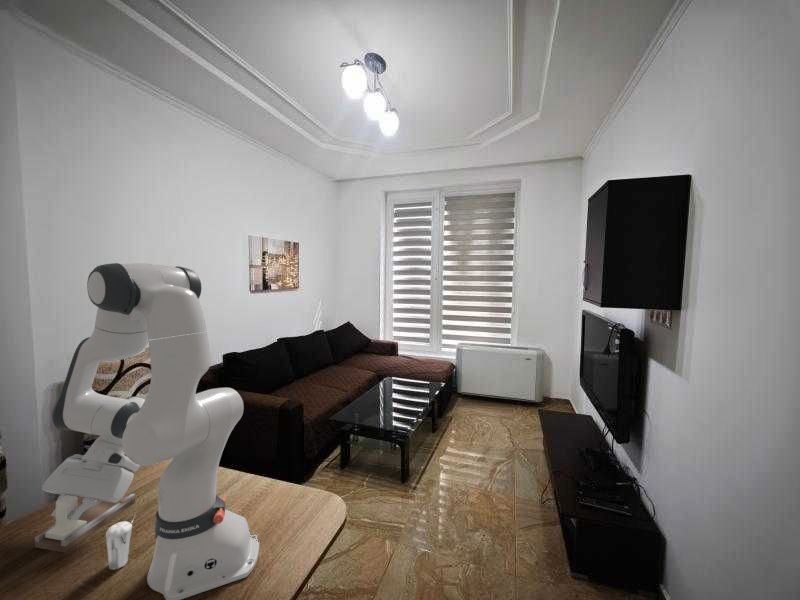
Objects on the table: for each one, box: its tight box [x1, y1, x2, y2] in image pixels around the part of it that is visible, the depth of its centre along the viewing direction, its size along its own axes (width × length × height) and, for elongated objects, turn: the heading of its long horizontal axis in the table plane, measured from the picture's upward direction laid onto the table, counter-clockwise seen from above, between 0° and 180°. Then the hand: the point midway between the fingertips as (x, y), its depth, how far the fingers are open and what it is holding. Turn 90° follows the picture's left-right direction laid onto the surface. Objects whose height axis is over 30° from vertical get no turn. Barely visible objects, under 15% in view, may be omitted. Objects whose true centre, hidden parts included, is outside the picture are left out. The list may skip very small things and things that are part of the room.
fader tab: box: [45, 495, 87, 541], centre depth 81 cm, size 5×5×8 cm
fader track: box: [34, 493, 136, 554], centre depth 87 cm, size 18×8×3 cm, turn 173°
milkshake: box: [105, 513, 137, 571], centre depth 76 cm, size 4×5×10 cm
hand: (63, 518), depth 81 cm, fingers closed on fader tab, 3 cm apart
